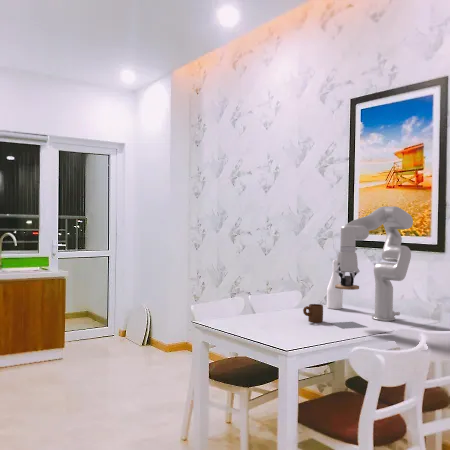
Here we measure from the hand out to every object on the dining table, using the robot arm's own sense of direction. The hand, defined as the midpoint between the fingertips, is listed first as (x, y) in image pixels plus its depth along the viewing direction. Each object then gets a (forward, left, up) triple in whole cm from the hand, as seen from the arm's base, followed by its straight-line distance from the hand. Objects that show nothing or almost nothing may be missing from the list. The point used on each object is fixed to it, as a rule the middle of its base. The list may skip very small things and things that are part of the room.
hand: (347, 285), depth 256 cm
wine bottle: (-23, -50, -21) cm, 59 cm away
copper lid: (0, 0, -1) cm, 1 cm away
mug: (+13, -12, -21) cm, 28 cm away
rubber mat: (-1, 0, -21) cm, 21 cm away
